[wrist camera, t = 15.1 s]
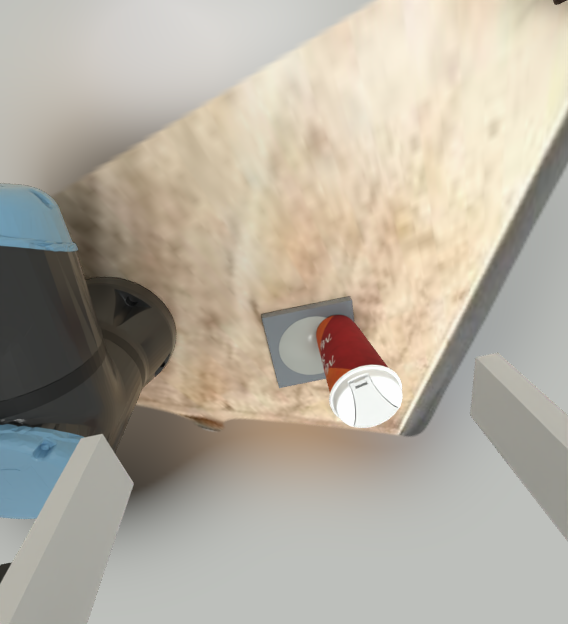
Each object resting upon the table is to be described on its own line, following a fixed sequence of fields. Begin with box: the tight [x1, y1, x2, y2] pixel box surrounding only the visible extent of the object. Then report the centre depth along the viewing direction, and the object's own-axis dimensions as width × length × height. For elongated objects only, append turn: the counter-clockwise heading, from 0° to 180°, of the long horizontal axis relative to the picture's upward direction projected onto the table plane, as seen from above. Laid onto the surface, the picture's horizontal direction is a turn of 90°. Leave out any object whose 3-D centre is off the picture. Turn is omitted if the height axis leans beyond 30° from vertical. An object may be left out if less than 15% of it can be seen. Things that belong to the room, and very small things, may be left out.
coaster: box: [262, 296, 354, 388], centre depth 48 cm, size 12×12×1 cm
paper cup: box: [316, 315, 402, 428], centre depth 40 cm, size 8×8×14 cm
